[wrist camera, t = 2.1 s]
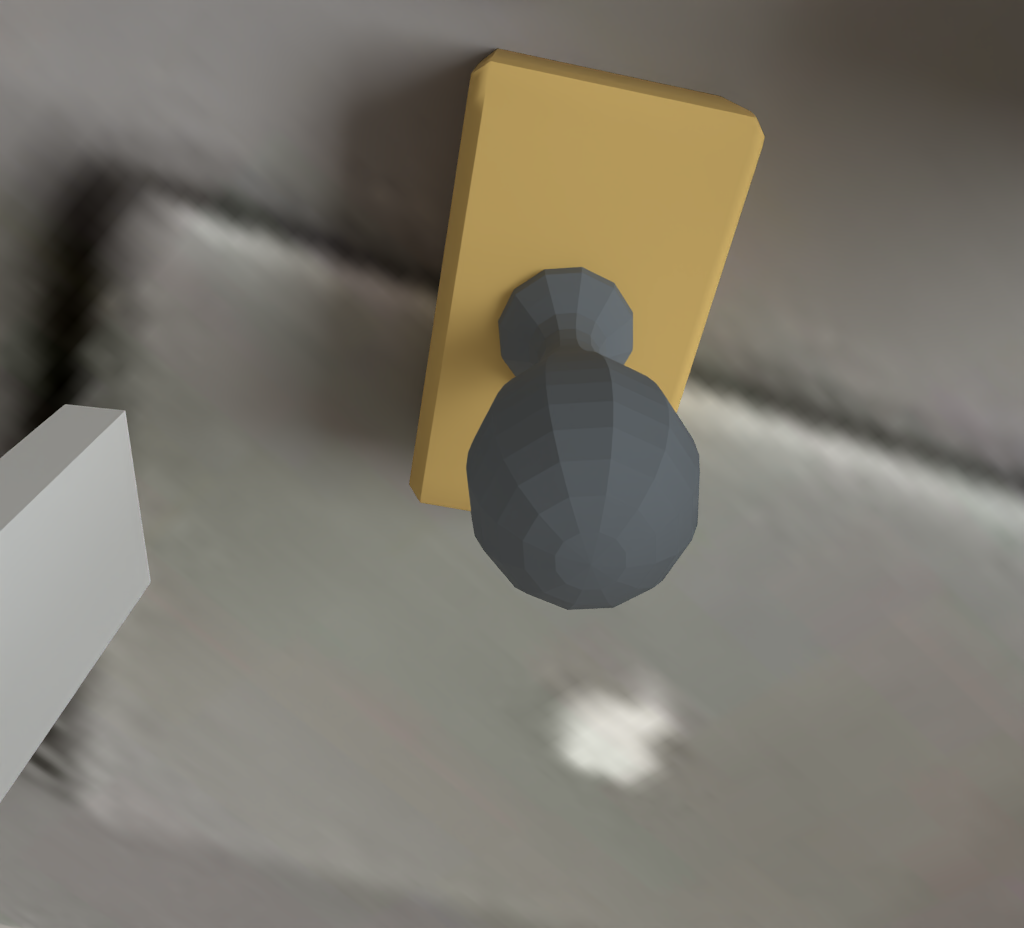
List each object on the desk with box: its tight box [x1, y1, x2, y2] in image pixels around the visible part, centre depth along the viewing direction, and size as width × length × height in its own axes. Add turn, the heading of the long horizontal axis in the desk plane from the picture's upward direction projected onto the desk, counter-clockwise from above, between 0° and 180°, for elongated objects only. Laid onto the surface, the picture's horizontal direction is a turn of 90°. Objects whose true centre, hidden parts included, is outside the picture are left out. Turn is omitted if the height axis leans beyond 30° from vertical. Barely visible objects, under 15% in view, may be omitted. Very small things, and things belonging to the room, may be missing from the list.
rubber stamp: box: [409, 49, 765, 610], centre depth 16 cm, size 10×6×12 cm, turn 169°
